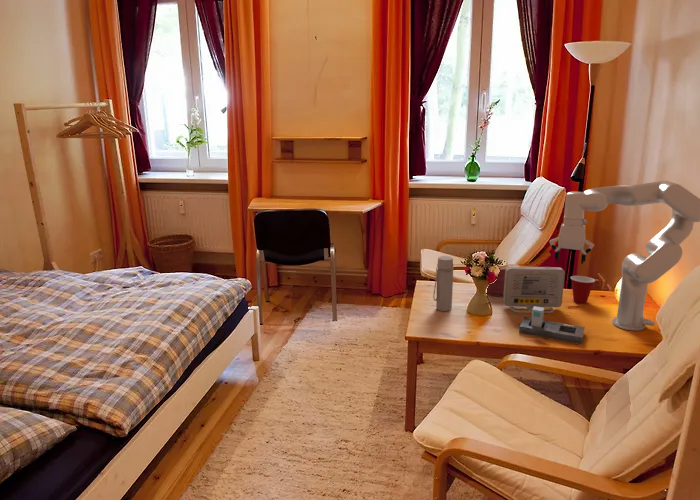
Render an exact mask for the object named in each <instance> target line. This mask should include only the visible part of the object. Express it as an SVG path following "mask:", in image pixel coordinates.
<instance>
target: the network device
mask: <svg viewBox="0 0 700 500" xmlns="http://www.w3.org/2000/svg"><path fill="white" fill-rule="evenodd" d="M565 271H566V270H564V269H563V268H562V267H560V266H559V267H557V266H556V267H555V266H554V267H553V266H552V267H551V266H509V267H507V268H506V269H505V282H504V295H503V296H502V297H503V298H502V299H503V301H502V302H504V303H503V304H504V305H505V306H506V307H509V308H510V309H511V311H512V312H515V313H525V314H527V313H531V314H532V309H533V307H534V306H536V307H542V308H548V310H544V314H553V313H554V312H555V311H554V308H561V306H562V304H563V296H564V295H563V293H564V285H565V275H566V272H565ZM514 307H525V308H527V309H528V310H523V309H522V310H521V309H520V310H517V309H515V308H514Z"/></svg>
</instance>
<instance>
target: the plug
mask: <svg viewBox="0 0 700 500" xmlns="http://www.w3.org/2000/svg"><path fill="white" fill-rule="evenodd" d="M544 311H545V307H536V306H534V307H533V309H532V313H531V318H532V320H531V326H535V327H540V328H542V325H543V320H544V315H545V313H544Z"/></svg>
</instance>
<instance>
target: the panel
mask: <svg viewBox="0 0 700 500" xmlns="http://www.w3.org/2000/svg"><path fill="white" fill-rule="evenodd" d="M531 320H532V317H527V316H524V317H523V319H522V321H521V323H520V325H519V328H518V329H519V330H518V333H519V334H524V335H529V336H535V337H539V338H540V337H541V338H543V339H544V338H545V339H550V340H557V341H560V342H564V343H565V342H567V343H571V344H576V345H582V343H583V340H584V335H585V326H581V325H580V326H579V325H573V324H569V323H568V324H567V323H563V322H558V321H553V320H552V321H550V320H545V319H543V325H542V328H540V327H535V326H531Z"/></svg>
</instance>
